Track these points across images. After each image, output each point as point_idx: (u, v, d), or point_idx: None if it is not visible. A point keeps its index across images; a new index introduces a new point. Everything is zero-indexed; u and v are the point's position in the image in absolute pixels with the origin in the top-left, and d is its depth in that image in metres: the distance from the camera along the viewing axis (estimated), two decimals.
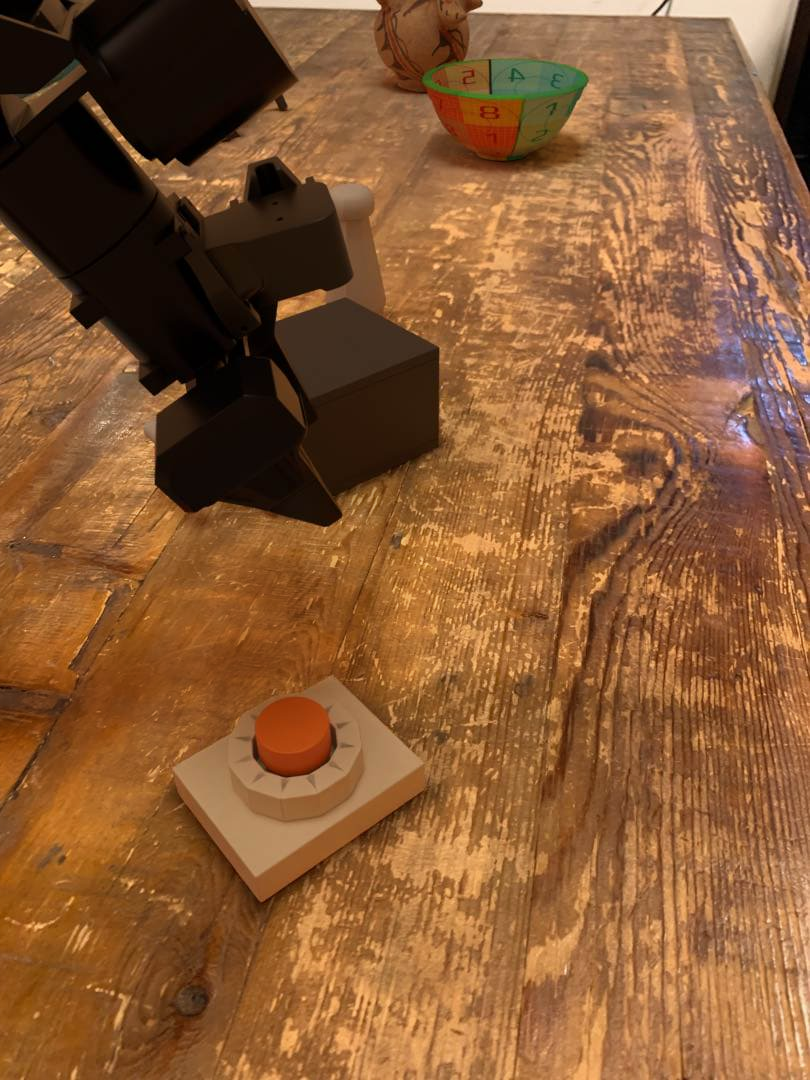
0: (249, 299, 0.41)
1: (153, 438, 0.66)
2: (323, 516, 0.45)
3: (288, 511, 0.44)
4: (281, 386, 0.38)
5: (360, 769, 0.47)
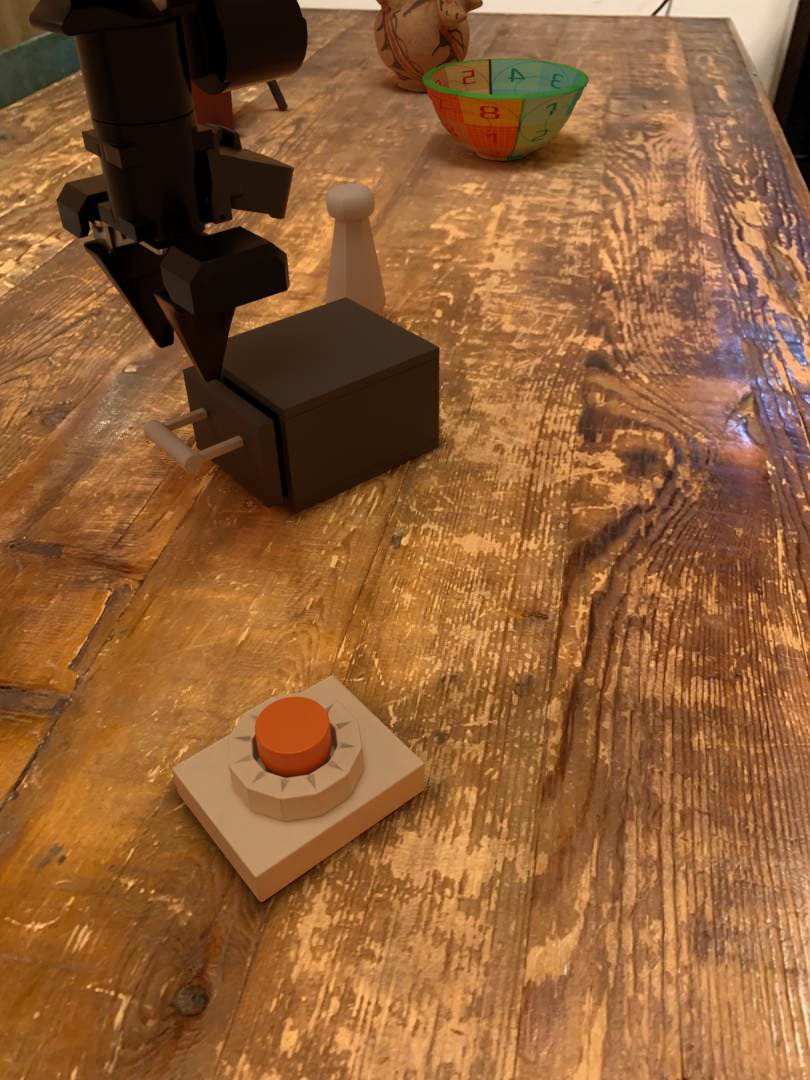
0: None
1: (153, 438, 0.66)
2: (211, 370, 0.60)
3: (198, 354, 0.58)
4: None
5: (360, 769, 0.47)
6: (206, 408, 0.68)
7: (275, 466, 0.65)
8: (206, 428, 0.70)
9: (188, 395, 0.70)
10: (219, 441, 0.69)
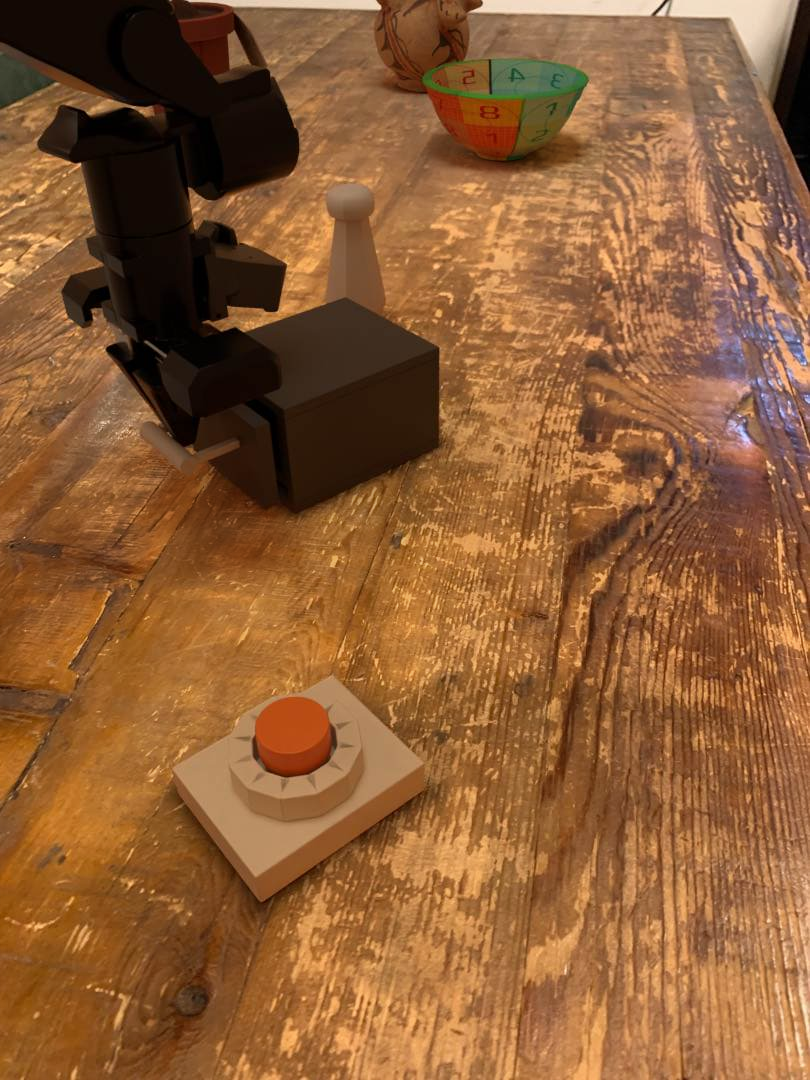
0: None
1: (149, 440, 0.65)
2: (187, 437, 0.65)
3: (174, 424, 0.63)
4: None
5: (360, 769, 0.47)
6: None
7: (271, 468, 0.65)
8: (202, 429, 0.70)
9: None
10: (215, 443, 0.69)
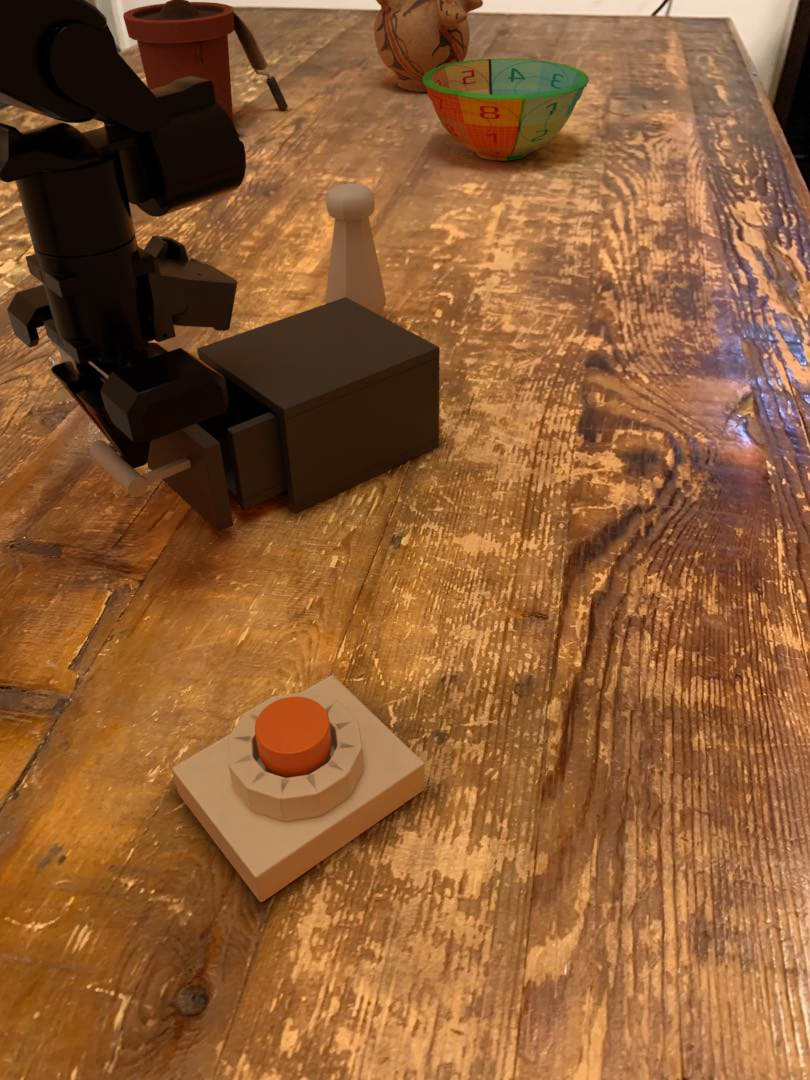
0: None
1: (98, 459, 0.64)
2: (137, 458, 0.63)
3: (123, 445, 0.61)
4: None
5: (360, 769, 0.47)
6: None
7: (223, 489, 0.63)
8: (155, 447, 0.68)
9: None
10: (168, 462, 0.67)
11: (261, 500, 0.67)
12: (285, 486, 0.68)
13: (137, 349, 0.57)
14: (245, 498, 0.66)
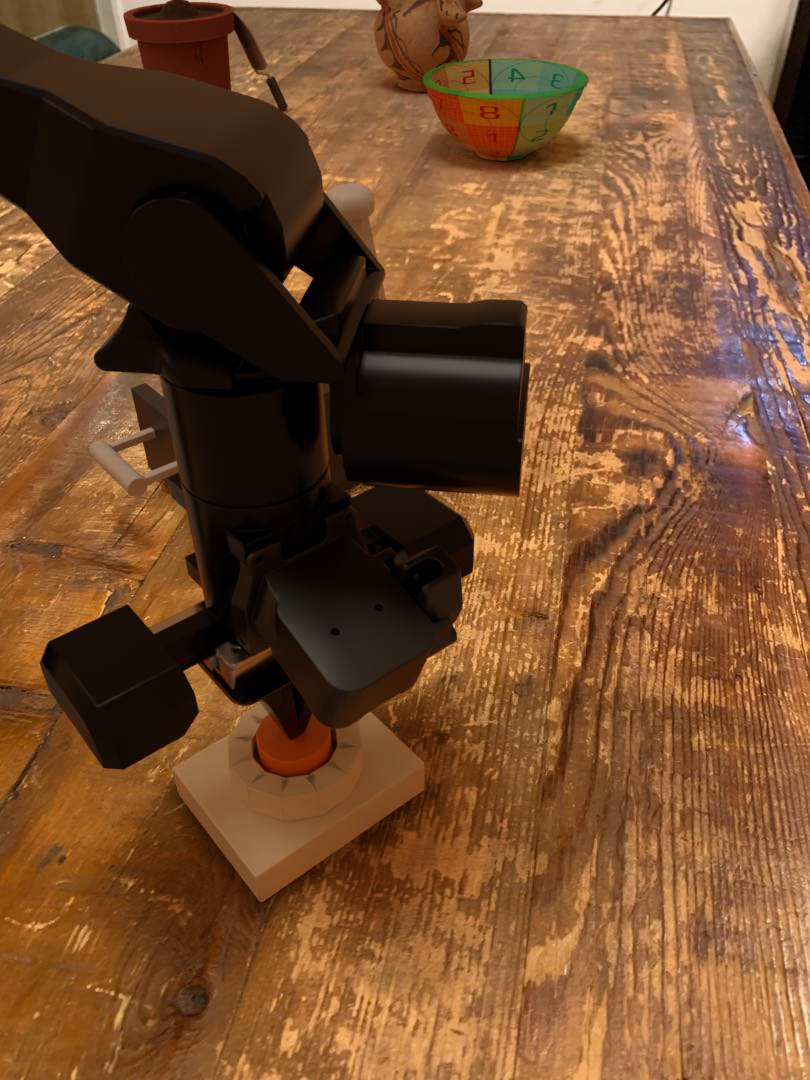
0: None
1: (98, 460, 0.64)
2: (278, 724, 0.45)
3: None
4: (157, 724, 0.35)
5: (360, 769, 0.47)
6: (154, 427, 0.66)
7: None
8: (155, 448, 0.68)
9: (137, 414, 0.68)
10: (168, 462, 0.67)
11: None
12: None
13: (221, 622, 0.38)
14: None
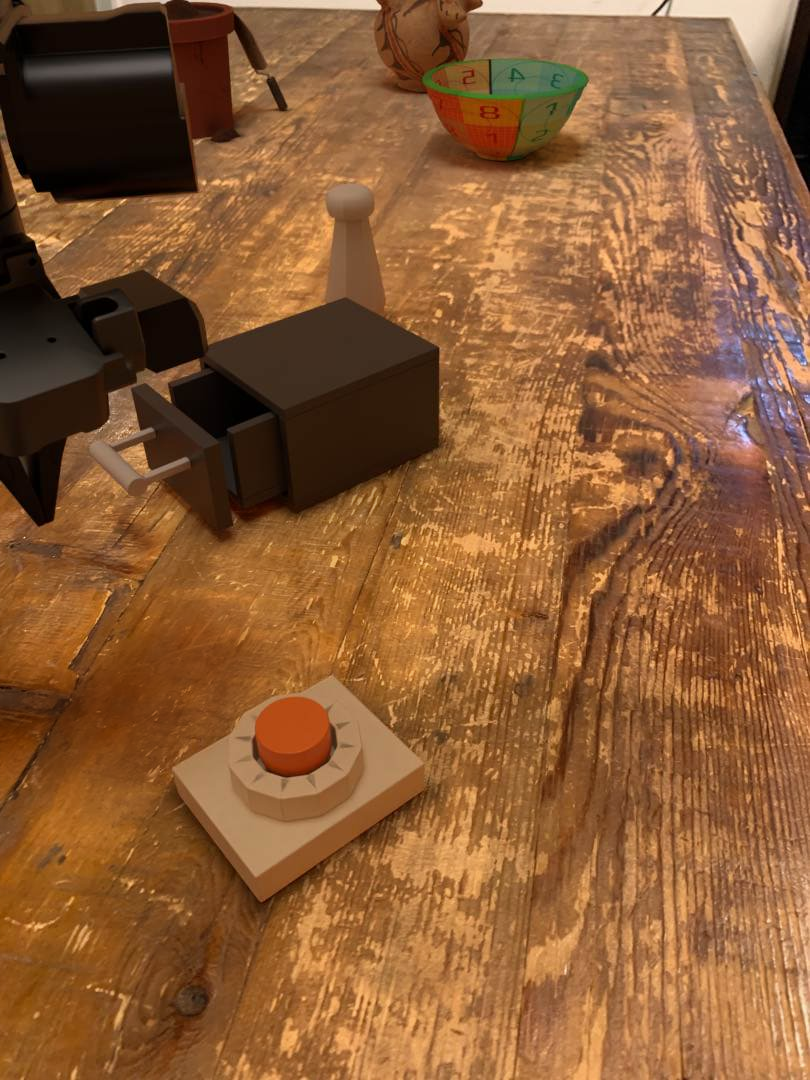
0: None
1: (98, 460, 0.64)
2: (25, 511, 0.47)
3: None
4: None
5: (360, 769, 0.47)
6: (154, 427, 0.66)
7: (223, 489, 0.63)
8: (155, 448, 0.68)
9: (137, 414, 0.68)
10: (168, 462, 0.67)
11: (261, 500, 0.67)
12: (285, 486, 0.68)
13: None
14: (245, 498, 0.66)
